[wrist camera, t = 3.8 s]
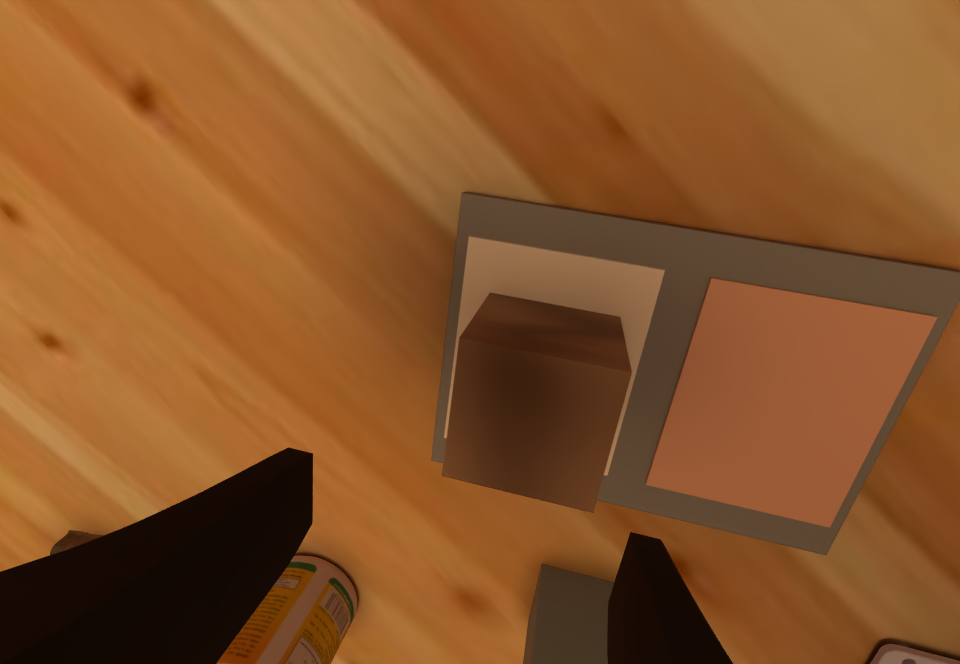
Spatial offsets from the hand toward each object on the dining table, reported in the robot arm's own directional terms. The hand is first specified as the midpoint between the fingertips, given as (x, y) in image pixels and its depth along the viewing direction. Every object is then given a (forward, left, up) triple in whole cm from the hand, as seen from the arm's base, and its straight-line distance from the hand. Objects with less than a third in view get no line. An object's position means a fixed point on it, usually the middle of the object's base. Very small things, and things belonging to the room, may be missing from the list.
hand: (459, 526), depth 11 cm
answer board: (-6, 0, -10) cm, 12 cm away
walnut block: (-1, 0, -10) cm, 10 cm away
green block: (-5, +13, -10) cm, 17 cm away
